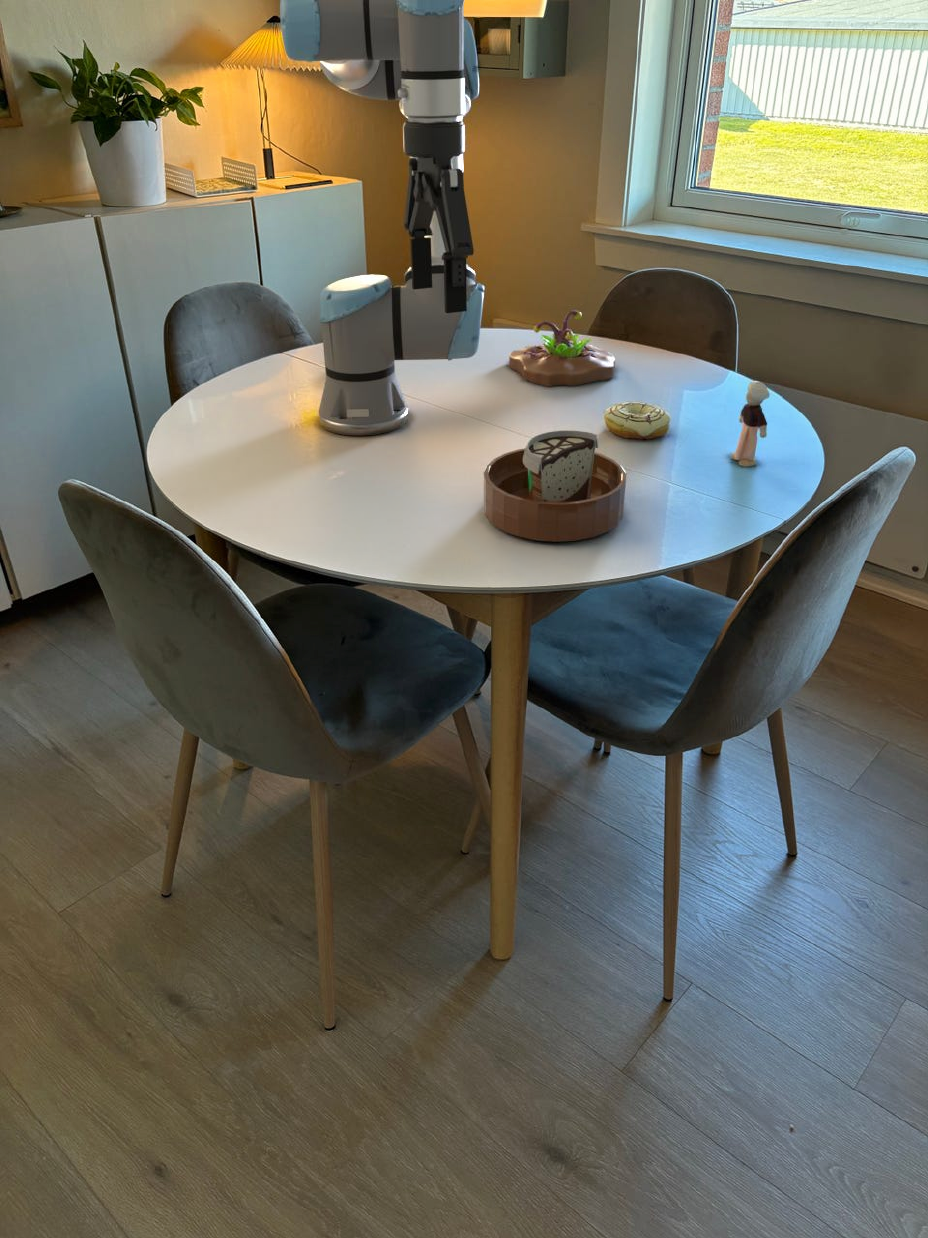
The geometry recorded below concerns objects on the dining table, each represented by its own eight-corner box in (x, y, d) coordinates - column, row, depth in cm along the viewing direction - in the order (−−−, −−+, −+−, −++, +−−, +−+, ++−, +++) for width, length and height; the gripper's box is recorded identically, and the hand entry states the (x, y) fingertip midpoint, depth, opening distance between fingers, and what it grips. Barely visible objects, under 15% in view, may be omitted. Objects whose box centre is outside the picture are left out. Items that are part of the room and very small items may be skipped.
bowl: (464, 496, 135) (464, 457, 131) (583, 476, 140) (586, 438, 137) (516, 556, 119) (517, 513, 116) (648, 530, 125) (652, 489, 122)
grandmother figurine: (719, 455, 146) (731, 376, 139) (739, 451, 147) (752, 372, 141) (750, 473, 140) (764, 391, 133) (771, 469, 141) (786, 387, 135)
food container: (561, 487, 135) (564, 422, 130) (594, 500, 132) (599, 433, 126) (502, 514, 128) (503, 446, 123) (535, 529, 124) (538, 459, 119)
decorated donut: (651, 447, 149) (654, 425, 147) (592, 433, 154) (594, 411, 152) (678, 427, 156) (681, 405, 154) (621, 414, 162) (623, 393, 160)
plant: (631, 379, 177) (636, 320, 171) (534, 390, 173) (536, 329, 167) (590, 350, 194) (593, 294, 188) (500, 359, 189) (501, 303, 183)
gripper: (375, 112, 121) (384, 281, 133) (437, 129, 102) (442, 325, 113) (430, 110, 124) (434, 276, 135) (501, 126, 104) (499, 319, 115)
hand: (438, 299), depth 124 cm, fingers open, 13 cm apart
